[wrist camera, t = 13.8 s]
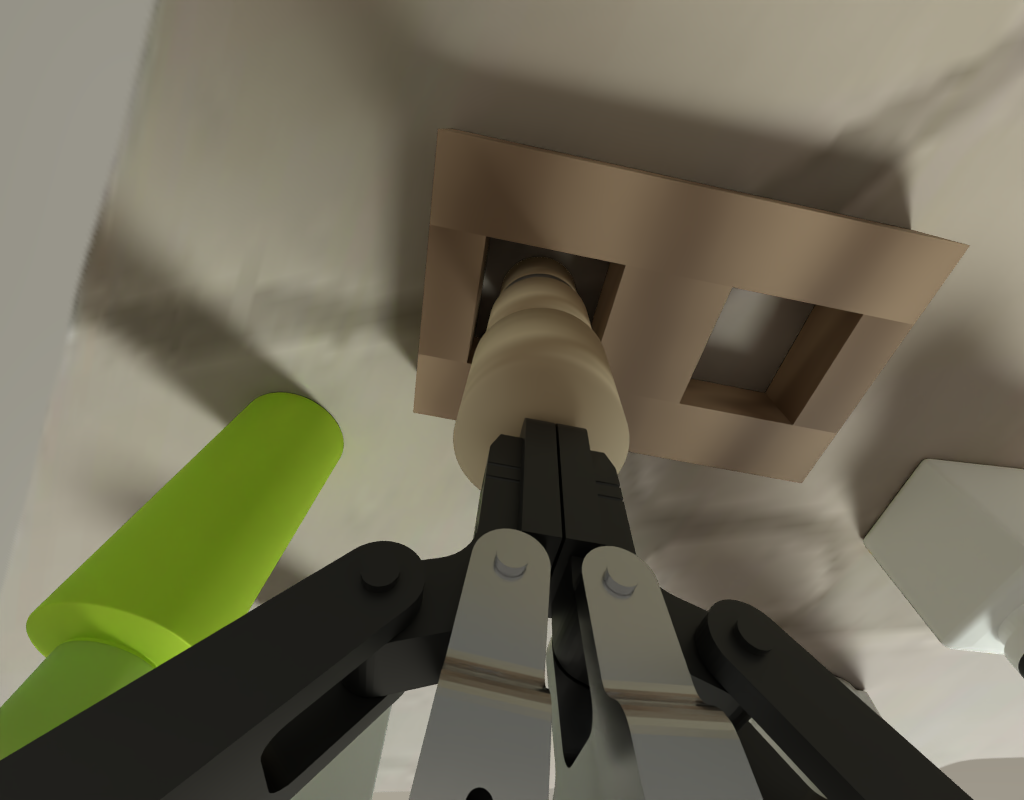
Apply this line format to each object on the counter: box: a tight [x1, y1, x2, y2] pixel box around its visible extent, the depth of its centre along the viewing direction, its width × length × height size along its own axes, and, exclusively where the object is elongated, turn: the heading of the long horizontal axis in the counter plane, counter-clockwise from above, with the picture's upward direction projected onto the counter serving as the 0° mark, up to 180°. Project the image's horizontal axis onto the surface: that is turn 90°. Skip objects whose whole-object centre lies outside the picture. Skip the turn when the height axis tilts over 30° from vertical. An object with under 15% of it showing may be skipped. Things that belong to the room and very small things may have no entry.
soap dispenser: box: [0, 392, 344, 760], centre depth 18 cm, size 6×7×20 cm
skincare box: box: [290, 705, 392, 800], centre depth 31 cm, size 8×6×15 cm
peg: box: [453, 257, 629, 490], centre depth 16 cm, size 4×4×12 cm
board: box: [413, 129, 970, 483], centre depth 20 cm, size 20×12×3 cm, turn 79°
